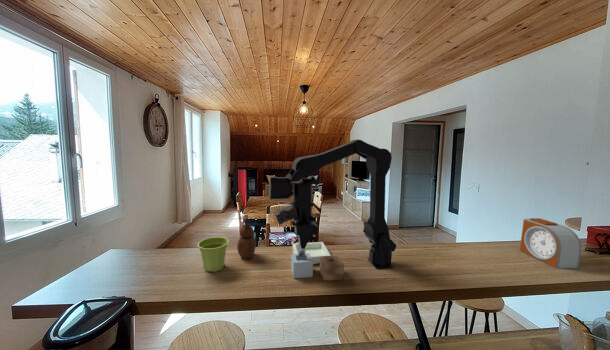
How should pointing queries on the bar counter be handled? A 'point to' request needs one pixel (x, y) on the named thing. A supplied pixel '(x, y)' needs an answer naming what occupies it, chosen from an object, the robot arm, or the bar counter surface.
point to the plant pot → (213, 253)
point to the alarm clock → (550, 243)
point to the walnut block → (331, 267)
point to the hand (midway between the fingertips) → (302, 246)
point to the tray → (313, 250)
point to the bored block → (301, 266)
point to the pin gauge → (301, 251)
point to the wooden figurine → (246, 241)
